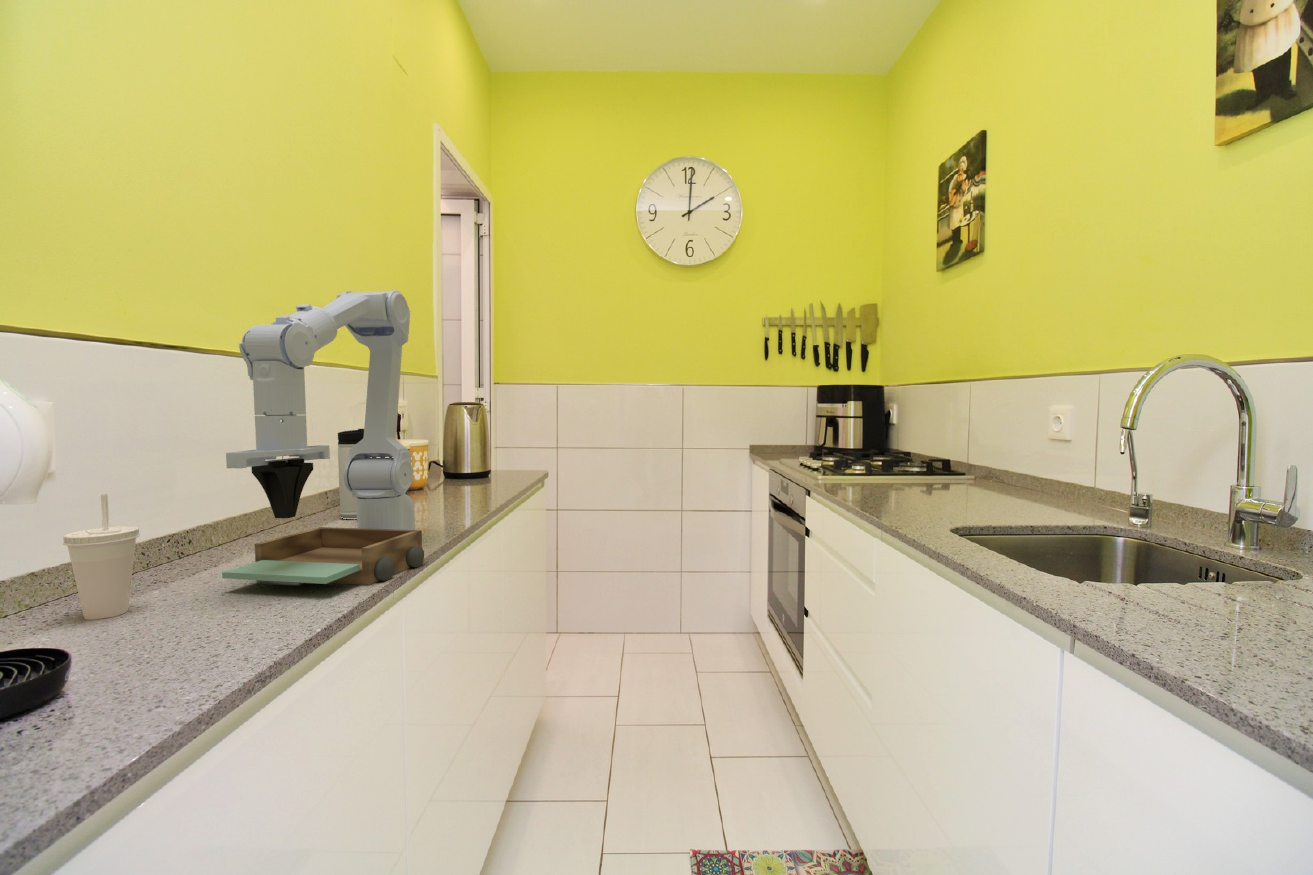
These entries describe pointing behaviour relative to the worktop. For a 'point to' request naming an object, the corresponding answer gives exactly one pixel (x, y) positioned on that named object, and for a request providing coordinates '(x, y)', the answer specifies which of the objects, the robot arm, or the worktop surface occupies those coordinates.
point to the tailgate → (291, 572)
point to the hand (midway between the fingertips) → (285, 517)
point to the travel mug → (344, 445)
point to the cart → (350, 551)
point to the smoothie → (103, 566)
